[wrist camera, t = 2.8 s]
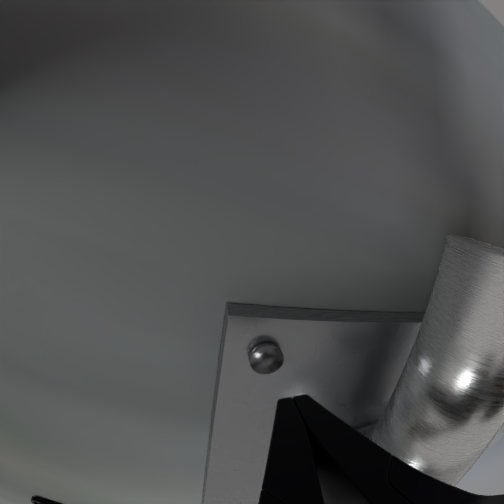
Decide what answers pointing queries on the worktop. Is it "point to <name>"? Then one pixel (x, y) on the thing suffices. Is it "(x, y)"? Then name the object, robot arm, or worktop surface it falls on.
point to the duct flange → (295, 381)
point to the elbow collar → (451, 368)
